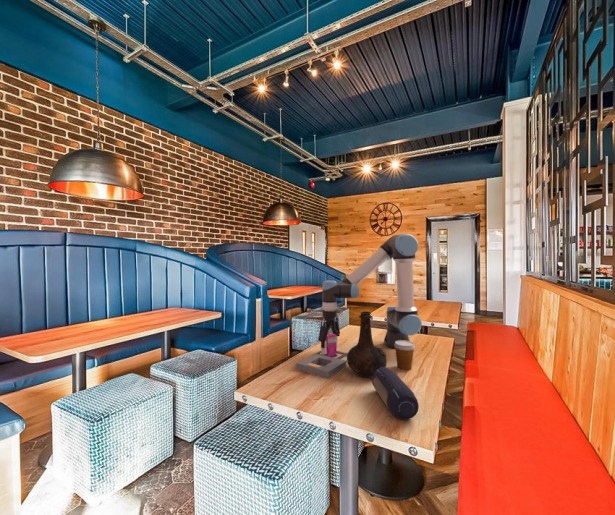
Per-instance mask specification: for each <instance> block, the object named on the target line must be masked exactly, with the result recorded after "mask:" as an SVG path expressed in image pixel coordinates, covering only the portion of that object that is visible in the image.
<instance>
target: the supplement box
mask: <svg viewBox="0 0 615 515" xmlns="http://www.w3.org/2000/svg"><path fill="white" fill-rule="evenodd" d="M325 341H326V354H322V355H324V356H328V357H332V358H336V357H338V355H337V354H338V353H337V351H338V350H337V349H338V348H337V340H336V335H335V334H333V332H328V334H327V337H326V340H325Z"/></svg>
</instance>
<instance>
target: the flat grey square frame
mask: <svg viewBox="0 0 615 515" xmlns="http://www.w3.org/2000/svg"><path fill="white" fill-rule="evenodd" d="M315 353H316V354H320V353H321V350H319V351H317V352H315ZM339 353H340V354H339ZM337 354H339V356H336V357H335V358H336V359H340V360H342V359H343V358H345V357H347V354H348V352H343V351H339V350H337ZM320 355H321V354H320ZM341 358H342V359H341Z"/></svg>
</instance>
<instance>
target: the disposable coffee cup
mask: <svg viewBox="0 0 615 515" xmlns="http://www.w3.org/2000/svg"><path fill="white" fill-rule="evenodd" d="M394 346H395V348H394V350H395V356H396V357H395V360H396V366H397V369H399V370H401V371H406V372H407V371H412V367H413V366H412V365H413V360H414V359H413V358H414V351H415V348H416V346H415V343H414V342H412V341H411V340H410V341H405V340H399V341H396V342H395V344H394Z"/></svg>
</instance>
